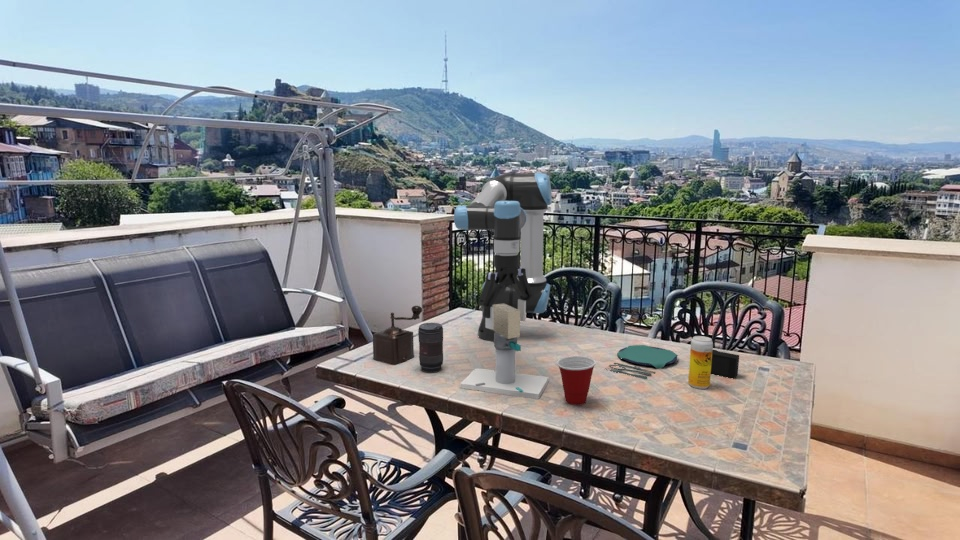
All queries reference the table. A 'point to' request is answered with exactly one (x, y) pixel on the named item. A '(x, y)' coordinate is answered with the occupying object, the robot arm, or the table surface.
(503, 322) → the beige boxy piece
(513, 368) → the base
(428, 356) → the camera lens
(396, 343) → the manual coffee grinder
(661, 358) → the cutlery set
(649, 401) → the table surface
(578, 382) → the plastic cup
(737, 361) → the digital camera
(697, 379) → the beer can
